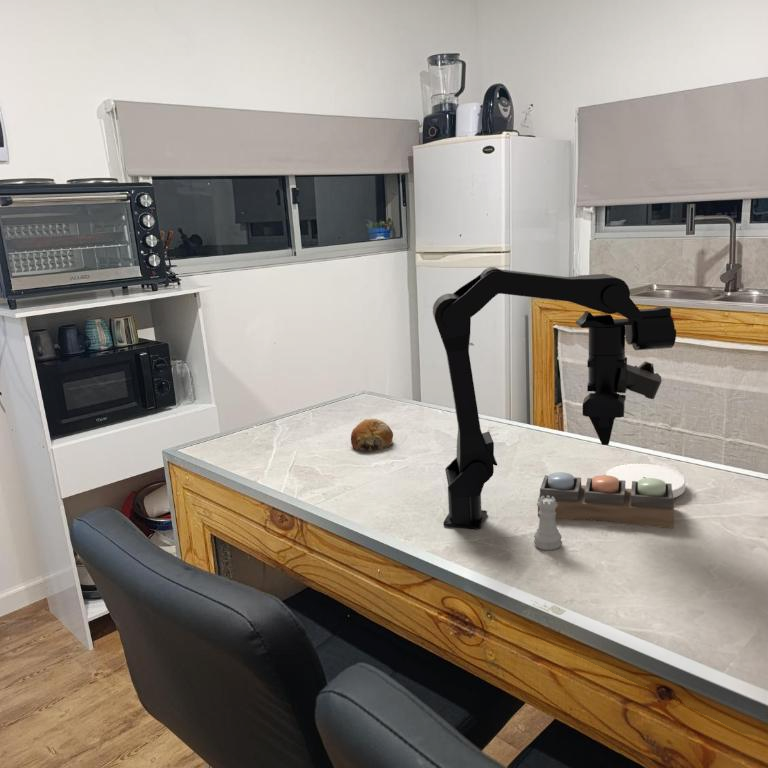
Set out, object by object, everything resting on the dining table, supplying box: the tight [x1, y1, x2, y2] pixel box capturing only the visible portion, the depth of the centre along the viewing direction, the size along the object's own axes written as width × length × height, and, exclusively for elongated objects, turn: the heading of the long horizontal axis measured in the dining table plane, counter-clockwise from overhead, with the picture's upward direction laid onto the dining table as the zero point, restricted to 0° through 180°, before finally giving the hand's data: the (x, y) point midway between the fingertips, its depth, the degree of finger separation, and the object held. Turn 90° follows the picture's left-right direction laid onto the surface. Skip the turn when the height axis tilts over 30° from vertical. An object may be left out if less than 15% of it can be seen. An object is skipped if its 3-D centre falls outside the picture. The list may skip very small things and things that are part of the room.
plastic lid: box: [604, 463, 686, 499], centre depth 131 cm, size 14×14×2 cm
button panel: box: [537, 474, 675, 529], centre depth 123 cm, size 8×22×5 cm, turn 70°
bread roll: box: [350, 418, 394, 452], centre depth 166 cm, size 10×10×8 cm
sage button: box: [638, 478, 666, 497], centre depth 119 cm, size 4×4×2 cm
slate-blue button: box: [547, 471, 574, 490], centre depth 125 cm, size 4×4×2 cm
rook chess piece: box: [533, 496, 563, 551], centre depth 112 cm, size 4×4×8 cm
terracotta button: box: [592, 474, 619, 493], centre depth 122 cm, size 4×4×2 cm
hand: (605, 441), depth 120 cm, fingers open, 3 cm apart
